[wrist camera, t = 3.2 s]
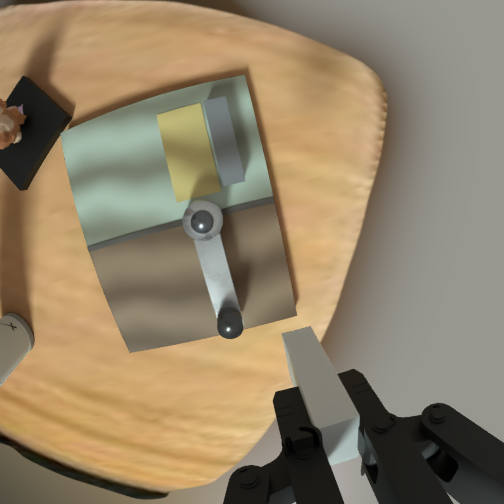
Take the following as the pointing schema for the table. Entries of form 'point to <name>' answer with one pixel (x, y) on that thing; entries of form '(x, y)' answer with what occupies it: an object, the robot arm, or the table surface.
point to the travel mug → (13, 343)
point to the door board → (177, 211)
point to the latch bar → (214, 264)
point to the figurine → (28, 131)
